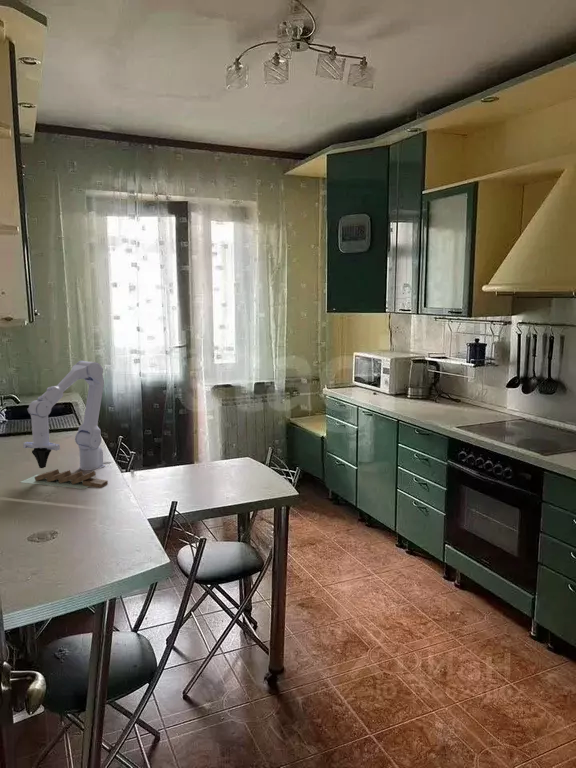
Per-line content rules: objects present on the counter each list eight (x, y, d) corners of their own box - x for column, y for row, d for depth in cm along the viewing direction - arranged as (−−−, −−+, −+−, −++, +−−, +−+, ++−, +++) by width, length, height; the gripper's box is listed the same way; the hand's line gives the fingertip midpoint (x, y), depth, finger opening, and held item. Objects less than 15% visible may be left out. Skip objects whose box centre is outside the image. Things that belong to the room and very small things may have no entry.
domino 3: (65, 475, 220) (81, 471, 218) (66, 479, 220) (83, 475, 218) (58, 479, 216) (74, 474, 214) (59, 483, 216) (76, 478, 214)
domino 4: (77, 477, 219) (94, 471, 217) (79, 481, 219) (95, 475, 217) (70, 480, 215) (87, 474, 213) (72, 484, 215) (89, 478, 213)
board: (37, 475, 227) (37, 474, 227) (100, 482, 220) (100, 480, 220) (19, 483, 217) (19, 482, 217) (85, 490, 210) (85, 488, 210)
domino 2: (53, 474, 222) (69, 470, 219) (54, 478, 222) (71, 474, 220) (46, 478, 217) (62, 473, 215) (47, 482, 217) (64, 477, 215)
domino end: (89, 477, 218) (107, 480, 216) (89, 481, 218) (107, 484, 216) (82, 480, 213) (101, 484, 212) (82, 484, 214) (100, 488, 212)
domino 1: (42, 473, 223) (58, 469, 221) (43, 477, 223) (59, 473, 221) (34, 477, 219) (50, 472, 216) (35, 481, 219) (52, 476, 217)
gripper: (16, 433, 216) (18, 468, 218) (50, 435, 212) (52, 471, 214) (29, 429, 222) (31, 463, 224) (62, 431, 219) (64, 466, 221)
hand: (42, 467), depth 220 cm, fingers closed
